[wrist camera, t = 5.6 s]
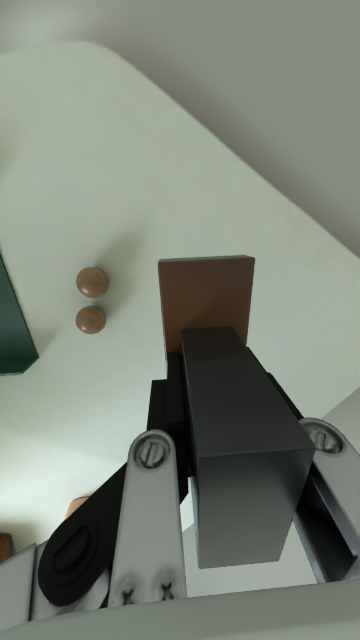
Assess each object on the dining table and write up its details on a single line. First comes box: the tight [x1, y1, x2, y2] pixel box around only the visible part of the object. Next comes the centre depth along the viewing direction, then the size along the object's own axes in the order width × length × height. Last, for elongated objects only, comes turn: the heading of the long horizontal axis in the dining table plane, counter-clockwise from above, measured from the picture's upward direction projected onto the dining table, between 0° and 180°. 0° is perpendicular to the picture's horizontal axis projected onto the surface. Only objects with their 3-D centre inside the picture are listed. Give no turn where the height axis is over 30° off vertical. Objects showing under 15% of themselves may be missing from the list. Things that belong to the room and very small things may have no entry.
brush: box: [158, 255, 316, 569], centre depth 8 cm, size 11×4×7 cm, turn 2°
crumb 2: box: [76, 306, 106, 334], centre depth 22 cm, size 3×3×3 cm
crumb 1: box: [76, 267, 109, 298], centre depth 20 cm, size 3×3×3 cm
